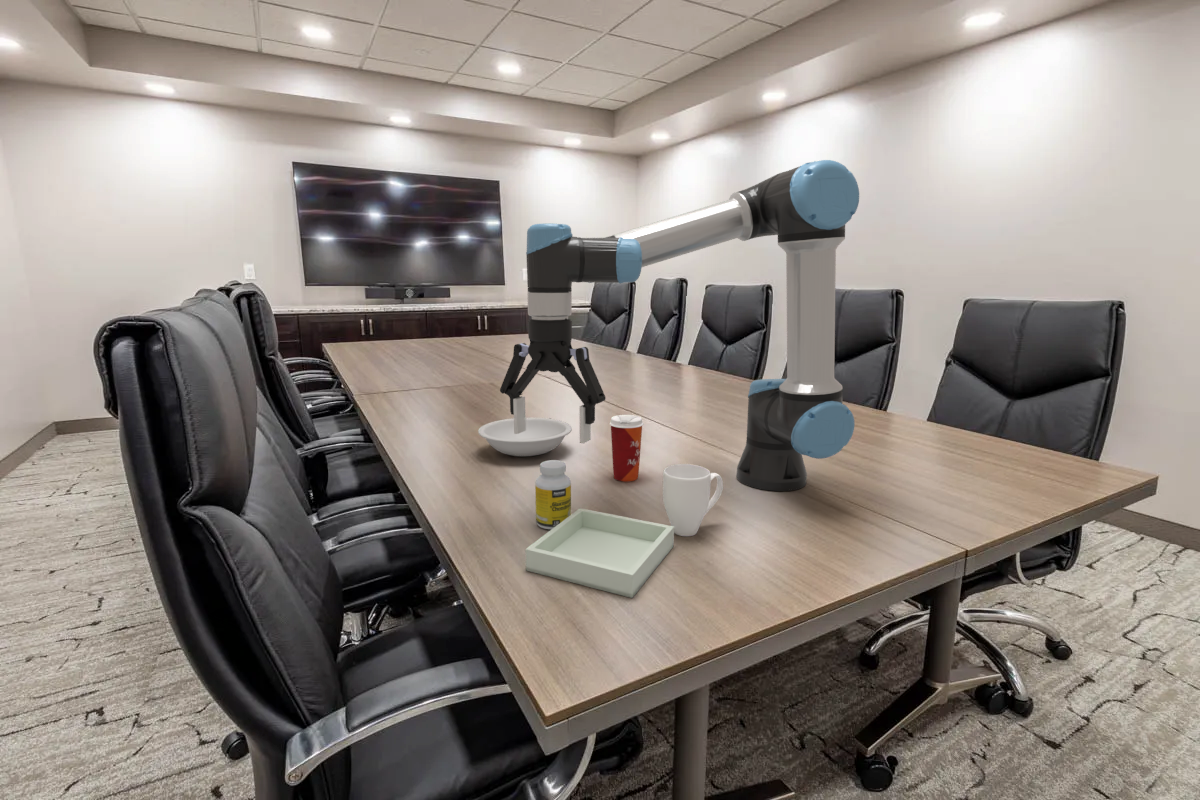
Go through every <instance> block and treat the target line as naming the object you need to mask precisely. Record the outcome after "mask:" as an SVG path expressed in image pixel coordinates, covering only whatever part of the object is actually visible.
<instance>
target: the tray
mask: <svg viewBox="0 0 1200 800" xmlns="http://www.w3.org/2000/svg"><path fill="white" fill-rule="evenodd" d="M674 539H675V533H674V526H671V525H670V524H668V525H667V524H663V523H658V522H652V521H648V520H641V519H637V518H633V517H632V518H631V517H627V516H621V515H617V514H612V513H608V512H601V511H596V510H591V509H586V508H583V507H582V508H581V507H579V508H578V509H577V510H576V511H574V512H572V513H571V515H570V516H569V517H567V518H566V519H565V520H563V521H562V522H561V523H559V524H558V525H557V526H555V527H554V528H553V529H551V530H548V531H547V532H546V533H545V534H543V535H542V536H541V537H540V538H538V539H537V540H536V541H534V542H533V543H532V544H530V545H529V546H528V547H526V548H525V550H524V551H525V572H526V571H527V572H531V573H533V574H534V573H535V574H538V575H542V576H545V577H549V578H550V577H551V578H554V579H558V580H561V581H564V582H569V583H573V584H577V585H580V586H584V587H588V588H592V589H595V590H599V591H604V592H607V593H611V594H615V595H619V596H622V597H626V598H630V599H633V598H634V597H635V596H636V594H637V593H638V592H639V591H640V589H642V587H643V585H645V582H647V580H648V579H649V578H650V577H651V575H652V574H653V573H654V572H655V570H656V569H657V568H658V566H659V565H660V564H661V563H662V561H663V560H664V559H665V558H666V557H667V555H668V554H669V552H671V550H672V549H673V548H674V546H675V545H674V544H675V543H674V542H675V541H674Z"/></svg>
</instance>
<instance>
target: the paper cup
mask: <svg viewBox="0 0 1200 800" xmlns="http://www.w3.org/2000/svg"><path fill="white" fill-rule="evenodd" d="M610 419H611V420H610V422H609V423H608V424H609V425H610V433H611V434H610V435H611V436H610V437H611V451H612V454H611V456H612V471H613V478H614V479H615V480H616V481H619V482H625V483H628V482H635V481H637V480H639V479H638V478H639V471H640V459H641V448H642V434H643V426H644V425H645V424H644V422H643V418H642V417H641V416H639V415H633V414H619V415H614V416H612V417H611V418H610Z"/></svg>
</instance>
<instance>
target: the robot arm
mask: <svg viewBox="0 0 1200 800" xmlns="http://www.w3.org/2000/svg"><path fill="white" fill-rule="evenodd" d="M858 184H859V183H858V182H857V179H856V177H855V175H854V174H853V172H852V171H850V170H849V169H848V168H847V167H846V166H845V165H844V164H842V163H840V162H838V161H836V160H831V159H821V160H814V161H811V162H805V163H803V164H802V165H800V166H796V167H794V168H791V169H789V170H786V171H783V172H782V171H781V172H779V173H777V174H775V175H773V176H771V177H769V178H767V179H764V180H763V181H761V182H758V183H757V184H755V185H752V186H750V187H747V188H745V189H742V190H740V191H736V192H733V193H732V194H730V197H729V198H728V199H727V200H725V201H724V200H723V201H720V202H718V203H715V204H711V205H709V206H708V205H707V206H705V207H701V208H698V209H694V210H691V211H688V212H687V211H686V212H685V213H682V214H678V215H675V216H672V217H667V218H665V219H661V220H659V221H656V222H651V223H648V224H644V225H642V226H639V227H636V228H632V229H628V230H626V231H622V232H619V233H616V234H612V235H609V236H606V237H579V236H578V237H577V236H573V233H572V228H571V226H570V225H569V224H566V223H534V224H532V225H531V226H529V227H528V229H527V231H526V252H525V255H526V280H527V285H526V286H527V315H528V316H530V317H531V318H530V319H529V320H528V322H527V323H528V324H527V326H528V327H527V329H528V339H529V345H527V343H525V342H523V343H515V344H514V346H513V355H512V358H511V361H510V364H509V366H508V368H507V371H506V373H505V375H504V379H503V380H502V383H501V386H500V388H499V391H500V393H501V394H505V395H506V396H508V398H509V408H510V409H509V410H510V411H509V412H510V414H511V415H513V418H514V434H519V433H521V432H524V431H526V418H527V417H526V396H523V392H524V391H525V390H526V388H527V387H528V386H529V384H530V383H531V382H532V381H533V379H534V378H535V376H536V375H537V374H538V373H539V372H547V371H548V372H550V373H559V374H560V375H561V376H562V377H564V379H565V380H566V382H567V383H568V384H569V386H570V387H571V388H572V390H573V391H574V393H575V394H576V395H577V397H578V398H579V400H580V402H582V405H579V444H585V443H587V442H589V441H591V439H592V438H591V437H592V436H591V435H592V433H591V431H592V429H591V428H592V427H591V426H592V425H591V424H594V423H595V421H596V405H598V404H600V403H602V402H604V401H606V395H605V393H604V390H603V388H602V386H601V383H600V382H599V379H598V376H597V374H596V372H595V369H594V367H593V365H592V363H591V361H590V353H589V348H588V347H587V346H583V347H577V348H573V346H572V339H573V320H572V319H571V318H569V317H570V316H572V305H573V303H572V302H573V301H572V299H573V298H572V296H573V295H572V286H573V285H572V284H573V283H589V284H590V283H591V284H592V283H597V284H598V283H599V284H602V283H603V284H604V283H605V284H607V283H608V284H609V283H610V284H611V283H612V284H613V283H615V284H616V283H617V284H623V283H634V282H636V281H638V279H639V277H640V275H641V272H642V268H645V267H648V266H651V265H654V264H658V263H660V262H663V261H667V260H669V259H673V258H674V259H675V258H676V257H680V256H683V255H687V254H690V253H693V252H697V251H700V250H703V249H706V248H708V247H709V248H710V247H712V246H717V245H719V244H722V243H725V242H729V241H731V240H735V239H738V240H739V241H742V242H745V241H749V240H751V239H756V238H763V237H769V236H777V246H778V247H779V248H781V249H782V250H783V251H784V252H785V256H786V259H785V260H786V262H785V263H786V265H785V266H786V375H787V376H786V378H765V379H764V378H762V379H755V380H753V381H751V382H750V384H749V391H748V394H747V398H748V401H747V421H746V422H747V424H746V439H745V440H746V442H745V443H746V444H745V447H744V449H743V452H742V455H741V457H740V459H739V461H738V464H737V467H736V479H737V480H738V482H740V483H742V484H744V485H746V486H747V487H751V488H754V489H759V490H764V491H772V492H773V491H774V492H789V491H797V490H800V489H802V488H804V487H805V486H806V484H807V478H808V477H807V476H808V473H807V469H806V465H805V463H804V458H803V456H807V457H809V458H812V459H819V460H820V459H821V460H822V459H828V458H830V457H833V456H835V455H836V454H838V453H839V452H840V451H842V450H843V448H844V447H846V446H847V445H848V444H849V442H850V440H851V439H852V436H853V435H854V432H855V416H854V414H853V412H852V411H851V410H850V408H849V407H848V406H847V405H846V404H844V403H843V396H844V395H843V393H844V392H843V384H842V383H840V382H839V380H837V379H836V378H835V347H836V346H835V345H836V344H835V343H836V342H835V341H836V339H835V338H836V334H835V333H836V332H835V331H836V275H837V273H836V270H837V269H836V265H837V264H836V257H837V255H836V254H837V253H836V251H837V248H838V247H839V246H840V245H841V244H842V242H844V241H845V239H846V224H847V223H848V222H850V221H851V219H852V217H853V215H855V214H856V211H857V210H858V207H859V203H860V189H859V185H858ZM528 355H529V356H530V358H531V360H530V362H529V363H528V364H527V366H526V367H525V368H526V369H525V370H523V372H522V374H521V375H520V373H521V370H522V368H523V366H524V363H525V362H526V361H525V360H526V359H527V357H528ZM572 358H573V360H575V361H576V365H577V367H578V370H579V372H580V374H581V376H582V377H581V376H580V375H579V373H578V372H577V371H576V367H575V365H574V364H573V362H572V361H571V359H572ZM519 376H520V377H519ZM582 378H583V379H582Z"/></svg>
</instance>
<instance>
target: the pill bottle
mask: <svg viewBox="0 0 1200 800" xmlns="http://www.w3.org/2000/svg"><path fill="white" fill-rule="evenodd" d="M566 470H567V463H566V462H565V461H562V460H557V459H551V460H550V459H548V460H545V461H542V462H541V463H540V464H539V471H540V473H541V475H539V476H537V478H536V479H535V482H534V483H535V485H534V487H535V489H534V490H535V522H536V524H537V526H538V527H540V528H542V529H544V530H548V531H550V530H551V529H553V528H554V527H555V526H557V525H558V524H559V523H561V522H562V521H563V520H565V519H566V518H567V517H569V516H570V515H571V514H572V483H571V482H572V481H571V478H570V476H568V475H567V474H565V473H566Z"/></svg>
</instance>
